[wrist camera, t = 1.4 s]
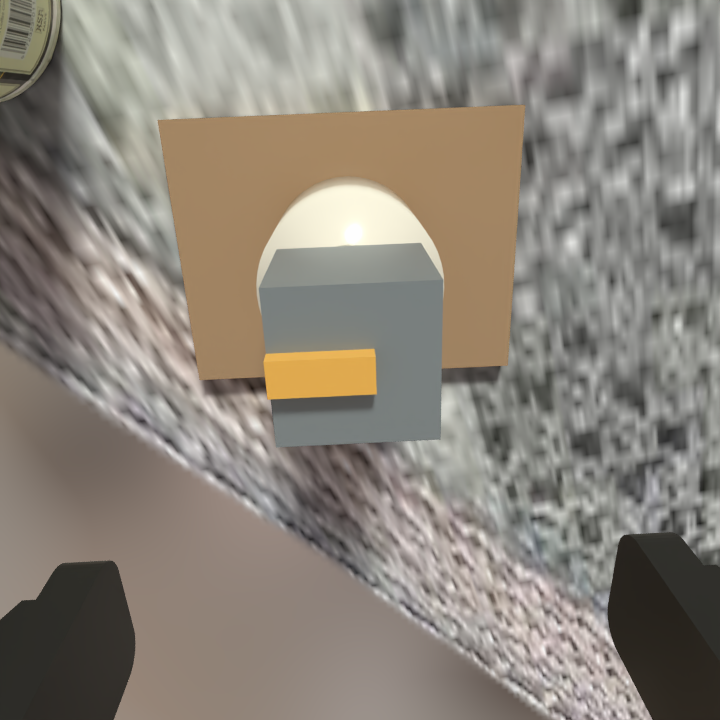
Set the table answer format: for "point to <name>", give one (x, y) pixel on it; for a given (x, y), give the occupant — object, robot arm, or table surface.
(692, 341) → the table surface
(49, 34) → the coffee can
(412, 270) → the grey cube with tab
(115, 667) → the robot arm
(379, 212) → the board with white bottle
